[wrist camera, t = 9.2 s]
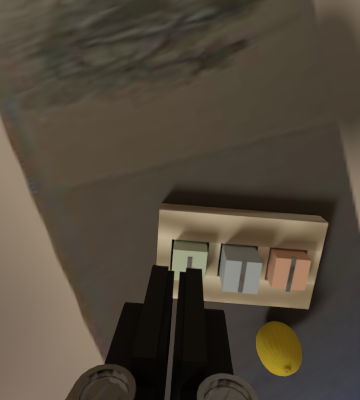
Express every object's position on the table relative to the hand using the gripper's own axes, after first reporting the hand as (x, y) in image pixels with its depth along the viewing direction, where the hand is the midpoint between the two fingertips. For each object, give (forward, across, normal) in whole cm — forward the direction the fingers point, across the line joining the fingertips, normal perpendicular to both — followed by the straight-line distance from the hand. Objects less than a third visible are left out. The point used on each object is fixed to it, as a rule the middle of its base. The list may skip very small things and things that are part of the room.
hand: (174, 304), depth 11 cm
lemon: (+29, -14, +23) cm, 39 cm away
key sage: (+28, -1, +12) cm, 31 cm away
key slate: (+27, -7, +12) cm, 30 cm away
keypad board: (+28, -7, +12) cm, 32 cm away
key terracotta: (+28, -13, +12) cm, 34 cm away
